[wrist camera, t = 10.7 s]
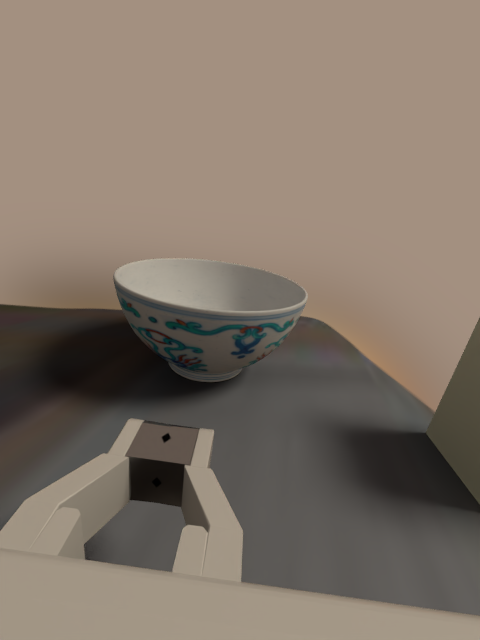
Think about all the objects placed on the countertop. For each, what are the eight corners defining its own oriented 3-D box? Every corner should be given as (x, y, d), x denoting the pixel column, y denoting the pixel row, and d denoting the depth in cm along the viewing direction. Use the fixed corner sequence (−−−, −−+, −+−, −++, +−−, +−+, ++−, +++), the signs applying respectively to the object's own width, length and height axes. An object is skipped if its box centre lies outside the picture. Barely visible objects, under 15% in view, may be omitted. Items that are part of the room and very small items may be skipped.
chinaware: (322, 376, 26) (344, 296, 24) (178, 454, 16) (187, 330, 14) (218, 319, 36) (225, 256, 33) (89, 345, 26) (83, 259, 23)
